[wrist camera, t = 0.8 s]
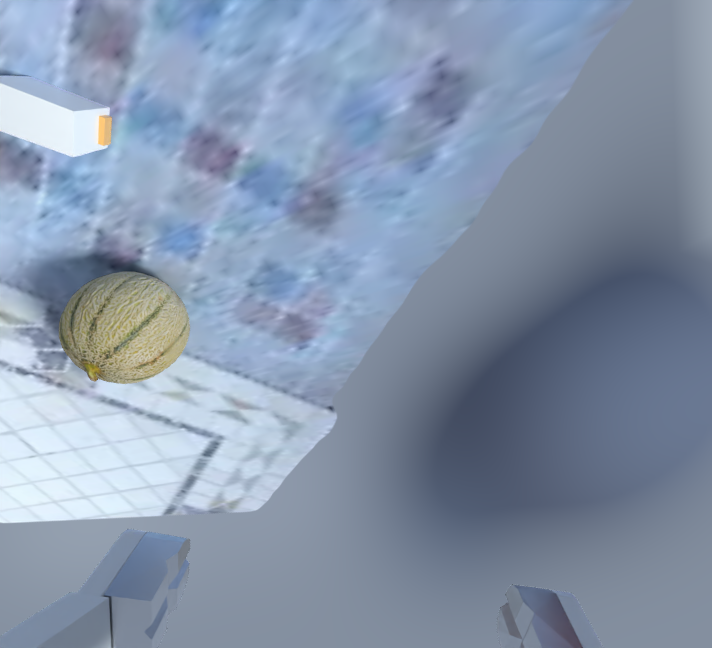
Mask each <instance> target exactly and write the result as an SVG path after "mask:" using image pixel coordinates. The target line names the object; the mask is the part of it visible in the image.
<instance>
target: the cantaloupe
mask: <svg viewBox="0 0 712 648" xmlns="http://www.w3.org/2000/svg"><path fill="white" fill-rule="evenodd" d="M189 331H190V324H189V317H188V313H187V311H186V308H185V306H184V304H183V302H182V301H181V299H180V298H179V297H178V295H177V294H176V293H175V292H174V291H173V290H172V289H171V288H170V287H169V286H168V285H167V284H166V283H164V282H163V281H161V280H159V279H157V278H154V277H152V276H149V275H146V274H143V273H138V272H128V271H124V272H117V273H112V274H108V275H105V276H102V277H99V278H96V279H94V280H92V281H90V282H88V283H87V284H85V285H83V286H82V287H81V288H80V289H79V290H78V291H77V292H76V293H75V294H74V295H73V296H72V297H71V299H70V300H69V301H68V303H67V306H66V307H65V309H64V311H63V313H62V315H61V318H60V322H59V339H60V342H61V345H62V348H63V349H64V351H65V353H66V354H67V355H68V356H69V357H70V359H71V360H72V361H73V363H74V364H75V365H76V366H78V367H79V368H81V369H82V370H84V371H85V372H87V374H88V377H89V378H90V380H92V381H96V380H98V378H99V379H101V380H103V381H107V382H114V383H121V384H127V383H137V382H140V381H143V380H146V379H149V378H151V377H154V376H155V375H157V374H159V373H160V372H162V371H163V370H164V369H166V368H168V367H169V366H170V365H171V364H172V363H174V362H175V361H176V360H177V358H178V357H179V356H180V354H181V353H182V351H183V350H184V348H185V346H186V343H187V341H188V336H189Z"/></svg>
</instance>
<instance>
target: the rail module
mask: <svg viewBox="0 0 712 648" xmlns="http://www.w3.org/2000/svg"><path fill="white" fill-rule="evenodd" d="M109 109H110V107H107V106H104V105H102V104H99V103H97V102H94V101H92V100H89V99H87V98H84V97H82V96H79V95H77V94H74V93H72V92H69V91H67V90H64V89H61V88H59V87H56V86H54V85H51V84H49V83H46V82H44V81H41V80H39V79H36V78H34V77H31V76H0V131H2V132H4V133H7V134H10V135H13V136H15V137H18V138H21V139H24V140H27V141H29V142H32V143H35V144H38V145H41V146H43V147H46V148H49V149H52V150H54V151H57V152H60V153H63V154H66V155H68V156H71V157H76V156H80V155H83V154H87V153H91V152H94V151H98V150H101V149H105V148H108V145H109V144H110V143H111V124H112V117H110V116H109Z"/></svg>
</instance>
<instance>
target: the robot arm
mask: <svg viewBox="0 0 712 648" xmlns="http://www.w3.org/2000/svg"><path fill="white" fill-rule="evenodd" d="M189 550H190V539H187V538H181V537H176V536H170V535H165V534H159V533H153V532H147V531H140V530H134V529H127V530H126V531H124V532H123V533H122V534H121V535H120V536H119V537H118V539H117V540H116V542H115V543H114V544H113V546H112V547H111V548H110V550H109V551H108V552H107V553H106V555H105V556H104V557H103V559H102V560H101V562H100V563H99V564H98V566H97V567H96V568H95V570H94V571H93V572H92V574H91V575H90V577H89V578H88V579H87V581H86V582H85V583H84V585H83V586H82V587H81V588H80V590H79V591H78V592H77V593H76V592H70V593H68V594H66V595H65V596H63V597H62V598H60V599H58V600H57V601H55V602H54V603H52V604H50V605H49V606H47V607H46V608H44V609H43V610H41V611H39V612H38V613H36V614H34V615H33V616H31V617H30V618H28V619H27V620H25V621H24V622H22V623H20V624H18V625H17V626H15V627H14V628H12V629H10V630H9V631H7V632H6V633H4V634H3V635H1V636H0V648H158V647H159V645H160V643H161V640H162V638H163V636H164V634H165V632H166V630H167V617H168V615H169V614H170V613H171V612H172V611H174V610H175V609H176V608H177V606H178V604H179V602H180V600H181V597H182V595H183V592H184V589H185V586H186V583H187V579H188V574H189V562H188V561H187V559H186V557H187V554H188V553H189ZM506 597H507V600H508V603H506V604H505V605H504V606H502V607H500V611H499V614H498V617H497V633H498V639H499V644H500V646H501V648H604V647H603V645H602V644H601V642H600V640H599V638H598V636H597V634H596V633H595V631H594V629H593V627H592V625H591V623H590V622H589V620H588V618H587V616H586V615H585V613H584V611H583V609H582V607H581V605H580V604H579V602H578V600H577V598H576V597H575V596H574V595H573V594H572V593H569V592H562V591H556V590H549V589H544V588H536V587H528V586H520V585H513V584H512V585H511V586H510V587H508V590H507V592H506Z"/></svg>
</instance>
